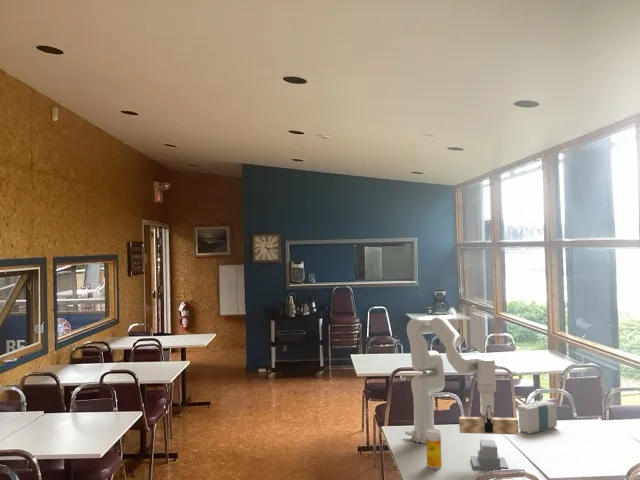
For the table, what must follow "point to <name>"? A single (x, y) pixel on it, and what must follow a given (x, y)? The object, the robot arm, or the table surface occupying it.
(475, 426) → the tan long bar
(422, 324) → the robot arm
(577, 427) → the table surface
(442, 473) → the table surface
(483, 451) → the fulcrum stand
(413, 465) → the table surface
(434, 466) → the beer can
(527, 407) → the stereo radio cassette player
